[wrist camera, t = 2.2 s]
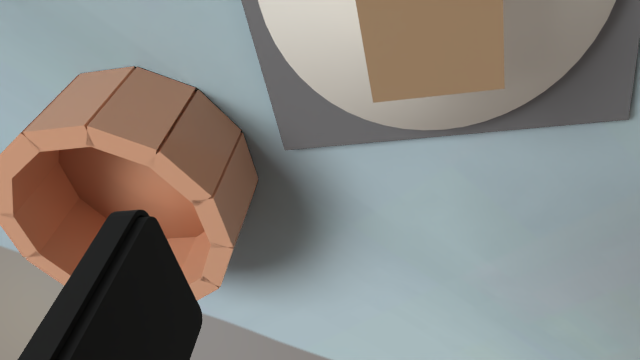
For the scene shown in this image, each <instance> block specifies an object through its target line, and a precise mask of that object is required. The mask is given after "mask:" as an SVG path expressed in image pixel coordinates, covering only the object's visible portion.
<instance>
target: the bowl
mask: <svg viewBox="0 0 640 360" xmlns="http://www.w3.org/2000/svg"><path fill="white" fill-rule="evenodd" d="M195 89H196V88H195V87H192V86H189V85H187V84H184V83H181V82H178V81H175V80H173V79H170V78H167V77H164V76H162V75H159V74H156V73H153V72H150V71H148V70H145V69H142V68H139V67H137V68H136V69H135V67H134V66H133V67H126V68H118V69H111V70H103V71H96V72H88V73H81V74H80V75H78V76H77V77H76V78H75V79H74V80H73V81H72V82H71V83H70V84H69V85H68V86H67V87H66V88H65V89H64V90H63V91H62V92H61V93H60V94H59V95H58V96H57V97H56V98H55V99H54V100H53V101H52V102H51V103H50V104H49V105H48V106H47V107H46V108H45V109H44V110H43V111H42V112H41V113H40V114H39V115H38V116H37V117H36V118H35V119H34V120H33V121H32V122H31V123H30V124H29V125H28V126H27V127H26V128H25V129H24V130H23V131H22V132H21V133H20V134H19V135H18V136H17V137H16V139H15V140H14V141H13V142H12V143H11V144H10V145H9V146H8V147H7V148H6V149H5V150H4V151H3V152H2V153H1V154H0V225H1V227H2V228H3V229H4V231H5V232H6V234H7V235H8V236H9V238H10V239H11V241H12V242H13V243H14V245H15V246H16V248H17V249H18V250H19V252H20V253H21V255H22V256H23V257H27V258H26V260H27V261H29V262H30V263H32V264H33V265H35V266H36V267H38V268H39V269H41V270H42V271H43V272H45V273H46V274H48V275H49V276H51V277H53V278H54V279H55V280H57V281H58V282H60V283H61V284H63V285H64V286H65V284H66V283H67V281H68V279H69V278H70V276H71V275H72V273H73V271H74V270H75V268H76V267H77V265H78V263H79V262H80V260H81V259H82V257H83V256H84V254H85V252H86V251H87V249H88V248H89V246H90V244H91V243H92V241H93V240H94V238H95V237H96V235H97V233H98V232H99V230H100V229H101V227H102V225H103V224H104V222H105V221H106V219H107V218H108V216H109V215H110V214H111V213H113V212H116V211H128V210H144V211H146V212H147V213H148V214H149V216H152V217H155V218H156V219H157V221H158V222H159V224H160V226H161V228H162V231H163V233H164V235H165V237H166V239H167V241H168V243H169V245H170V247H171V249H172V251H173V253H174V255H175V257H176V259H177V261H178V263H179V265H180V267H181V269H182V271H183V274H184V276H185V278H186V280H187V282H188V284H189V286H190V288H191V290H192V292H193V294H194V296H195V298H196V300H199V299H201V298H202V297H204V296H206V295H208V294H210V293H212V292H213V291H215V290H217V289H219V287H221V284H222V281H223V278H224V276H225V273H226V270H227V267H228V265H229V262H230V259H231V256H232V254H233V251H234V248H235V245H236V243H237V240H238V237H239V234H240V231H241V229H242V226H243V223H244V220H245V218H246V215H247V212H248V209H249V206H250V203H251V200H252V197H253V194H254V191H255V188H256V185H257V182H258V176H257V173H256V170H255V167H254V164H253V161H252V158H251V155H250V152H249V149H248V146H247V143H246V140H245V137H244V134H243V133H240V132H241V129H240V128H238V127H237V126H236V125H235V124H234V123H233V122H232V121H231V120H230V119H229V118H228V117H227V116H226V115H225V114H224V113H223V112H222V111H221V110H220V109H219V108H217V107H216V106H215V105H214V104H213V103H212V102H211V101H210V100H209V99H208V98H207V97H206V96H205V95H204V94H203V93H202V92H201V91H200V90H199V89H198V90H197V91H196V92H195Z"/></svg>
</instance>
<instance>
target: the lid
mask: <svg viewBox="0 0 640 360" xmlns="http://www.w3.org/2000/svg"><path fill="white" fill-rule="evenodd" d="M615 2H616V0H258V3H259V6H260V9H261V12H262V15H263V18H264V21H265V24H266V26H267V28H268V30H269V32H270V34H271V36H272V38H273V40H274V42H275V44H276V46H277V47H278V49H279V50H280V52H281V53H282V55H283V56H284V58H285V60H286V61H287V62H288V64H289V65H290V66H291V67H292V68H293V69H294V71H295V72H296V73H297V74H298V75H299V77H300V78H301V79H303V80H304V81H305V82H306V83H307V84H308V85H309V86H310V87H311V88H312V89H313V90H314V91H316V92H317V93H318V94H320V95H321V96H322V97H324V98H325V99H326V100H328V101H329V102H331V103H332V104H334V105H336V106H338V107H339V108H341V109H343V110H345V111H346V112H348V113H351V114H353V115H355V116H358V117H360V118H362V119H365V120H368V121H371V122H375V123H378V124H381V125H385V126H390V127H396V128H401V129H412V130H445V129H452V128H458V127H465V126H469V125H473V124H477V123H481V122H484V121H487V120H490V119H493V118H495V117H498V116H501V115H503V114H506V113H508V112H510V111H512V110H514V109H516V108H518V107H520V106H522V105H524V104H526V103H527V102H529V101H530V100H532V99H533V98H535V97H537V96H538V95H540V94H541V93H543V92H544V91H546V90H547V89H548V88H549V87H551V86H552V85H553V84H554V83H555V82H557V81H558V80H559V79H560V78H562V77H563V76H564V75H565V74H566V73H567V72H568V71H569V70H570V69H571V68H572V67H573V66H574V65H575V64H576V63H577V62H578V61H579V59H580V58H581V57H582V56H583V54H584V53H585V52H586V51H587V49H588V48H589V47H590V45H591V44H592V43H593V42H594V40H595V39H596V37H597V35H598V34H599V32H600V31H601V29H602V27H603V26H604V24H605V22H606V21H607V19H608V17H609V15H610V12H611V10H612V8H613V6H614V4H615Z"/></svg>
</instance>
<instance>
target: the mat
mask: <svg viewBox="0 0 640 360" xmlns="http://www.w3.org/2000/svg"><path fill="white" fill-rule="evenodd" d="M241 1H242V4H243V8H244V11H245V15H246V18H247V21H248V25H249V28H250V32H251V35H252V39H253V42H254V46H255V49H256V52H257V56H258V59H259V63H260V66H261V70H262V73H263V77H264V80H265V83H266V87H267V90H268V94H269V97H270V101H271V104H272V108H273V111H274V114H275V118H276V121H277V125H278V128H279V132H280V135H281V139H282V142H283V145H284V149H285V150H293V149H304V148H315V147H326V146H337V145H349V144H360V143H371V142H382V141H393V140H405V139H416V138H427V137H438V136H450V135H461V134H472V133H483V132H494V131H506V130H517V129H528V128H539V127H550V126H562V125H573V124H584V123H595V122H607V121H618V120H629V112H630V105H631V98H632V90H633V83H634V76H635V68H636V61H637V54H638V47H639V39H640V0H616V2H615V4H614V6H613V8H612V10H611V12H610V15H609V17H608V19H607V21H606V22H605V24H604V26H603V27H602V29H601V31H600V32H599V34H598V35H597V37H596V39H595V40H594V42H593V43H592V44H591V45H590V47H589V48H588V49H587V51H586V52H585V53H584V54H583V56H582V57H581V58H580V59H579V61H578V62H577V63H576V64H575V65H574V66H573V67H572V68H571V69H570V70H569V71H568V72H567V73H566V74H565V75H564V76H563V77H562V78H560V79H559V80H558V81H557V82H555V83H554V84H553V85H552V86H551V87H549V88H548V89H547V90H546V91H544V92H543V93H541V94H540V95H538V96H537V97H535V98H533V99H532V100H530V101H529V102H527V103H526V104H524V105H522V106H520V107H518V108H516V109H514V110H512V111H510V112H508V113H506V114H503V115H501V116H498V117H495V118H493V119H490V120H487V121H484V122H481V123H477V124H473V125H469V126H465V127H458V128H452V129H445V130H412V129H401V128H396V127H390V126H385V125H381V124H378V123H375V122H371V121H368V120H365V119H362V118H360V117H358V116H355V115H353V114H351V113H348V112H346V111H345V110H343V109H341V108H339V107H338V106H336V105H334V104H332V103H331V102H329V101H328V100H326V99H325V98H324V97H322V96H321V95H320V94H318V93H317V92H316V91H314V90H313V89H312V88H311V87H310V86H309V85H308V84H307V83H306V82H305V81H304V80H303V79H301V78H300V77H299V75H298V74H297V73H296V72H295V71H294V69H293V68H292V67H291V66H290V65H289V64H288V62H287V61H286V60H285V58H284V56H283V55H282V53H281V52H280V50H279V49H278V47H277V46H276V44H275V42H274V40H273V38H272V36H271V34H270V32H269V30H268V28H267V26H266V24H265V21H264V18H263V15H262V12H261V9H260V6H259V3H258V0H241Z"/></svg>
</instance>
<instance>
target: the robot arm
mask: <svg viewBox="0 0 640 360" xmlns="http://www.w3.org/2000/svg"><path fill="white" fill-rule="evenodd" d="M201 325H202V312H201V309H200V306H199V304H198V302H197V300H196V298H195V296H194V294H193V292H192V290H191V288H190V286H189V284H188V282H187V280H186V278H185V276H184V274H183V271H182V269H181V267H180V265H179V263H178V261H177V259H176V257H175V255H174V253H173V251H172V249H171V247H170V245H169V243H168V241H167V239H166V237H165V235H164V233H163V231H162V228H161V226H160V224H159V222H158V221H157V219H156V218H155V217H152V216H149V214H148V213H147V212H146V211H144V210H128V211H116V212H113V213H111V214H110V215H109V216H108V218H107V219H106V221H105V222H104V224H103V225H102V227H101V229H100V230H99V232H98V233H97V235H96V237H95V238H94V240H93V241H92V243H91V244H90V246H89V248H88V249H87V251H86V252H85V254H84V256H83V257H82V259H81V260H80V262H79V263H78V265H77V267H76V268H75V270H74V271H73V273H72V275H71V276H70V278H69V279H68V281H67V283H66V284H65V286H64V287H63V289H62V291H61V292H60V294H59V295H58V297H57V298H56V300H55V302H54V303H53V305H52V306H51V308H50V310H49V311H48V313H47V314H46V316H45V317H44V319H43V321H42V322H41V324H40V325H39V327H38V328H37V330H36V332H35V333H34V335H33V336H32V338H31V340H30V341H29V343H28V344H27V346H26V348H25V349H24V351H23V352H22V354H21V355H20V357H19V359H18V360H190V357H191V354H192V351H193V349H194V346H195V343H196V340H197V337H198V335H199V332H200V329H201Z"/></svg>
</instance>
